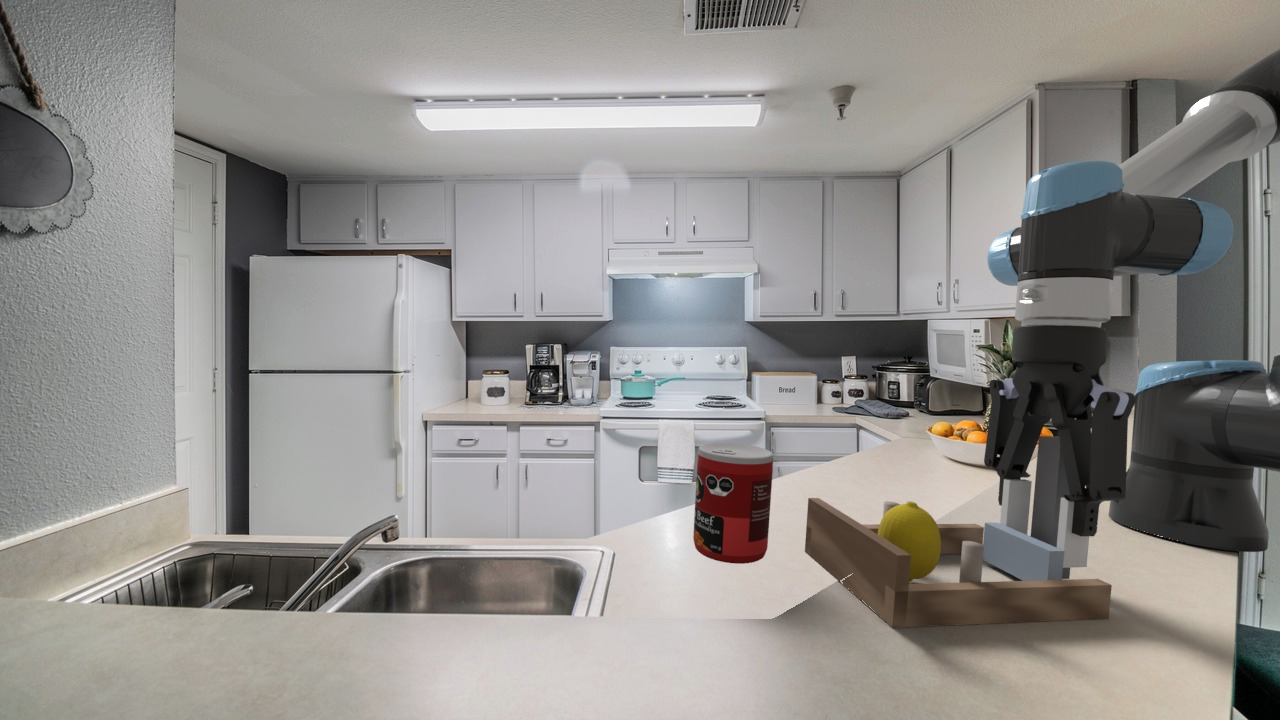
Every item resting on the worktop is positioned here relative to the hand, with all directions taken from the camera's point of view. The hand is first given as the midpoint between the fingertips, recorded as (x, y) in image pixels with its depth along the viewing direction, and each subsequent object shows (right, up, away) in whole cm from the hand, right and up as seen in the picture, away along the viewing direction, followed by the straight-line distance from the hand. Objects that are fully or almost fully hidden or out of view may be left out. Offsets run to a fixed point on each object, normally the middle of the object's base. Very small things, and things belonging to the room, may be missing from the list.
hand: (1040, 551), depth 54 cm
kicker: (0, -2, 0) cm, 2 cm away
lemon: (-15, -2, -2) cm, 15 cm away
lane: (-11, -2, -2) cm, 12 cm away
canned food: (-31, -1, +3) cm, 31 cm away
